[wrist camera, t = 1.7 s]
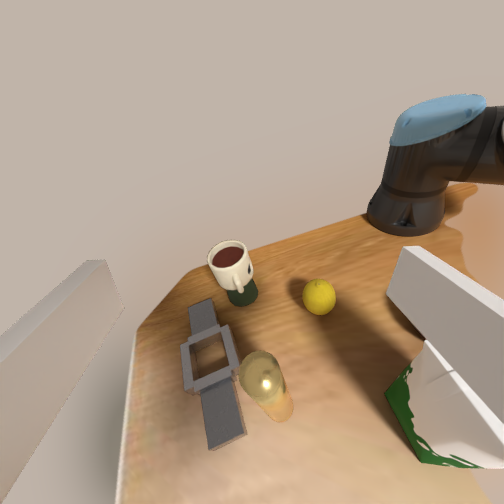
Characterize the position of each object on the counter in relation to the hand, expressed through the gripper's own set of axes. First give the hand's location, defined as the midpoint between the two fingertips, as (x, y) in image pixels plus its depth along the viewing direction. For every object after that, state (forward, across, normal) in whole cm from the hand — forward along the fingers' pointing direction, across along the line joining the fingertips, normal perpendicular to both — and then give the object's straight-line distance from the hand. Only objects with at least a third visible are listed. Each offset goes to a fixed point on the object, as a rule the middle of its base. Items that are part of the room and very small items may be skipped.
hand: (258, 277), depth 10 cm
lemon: (+22, +13, -24) cm, 35 cm away
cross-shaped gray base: (+16, -6, -29) cm, 34 cm away
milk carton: (+5, +22, -27) cm, 35 cm away
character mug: (+28, -1, -25) cm, 38 cm away
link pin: (+9, +4, -29) cm, 31 cm away
